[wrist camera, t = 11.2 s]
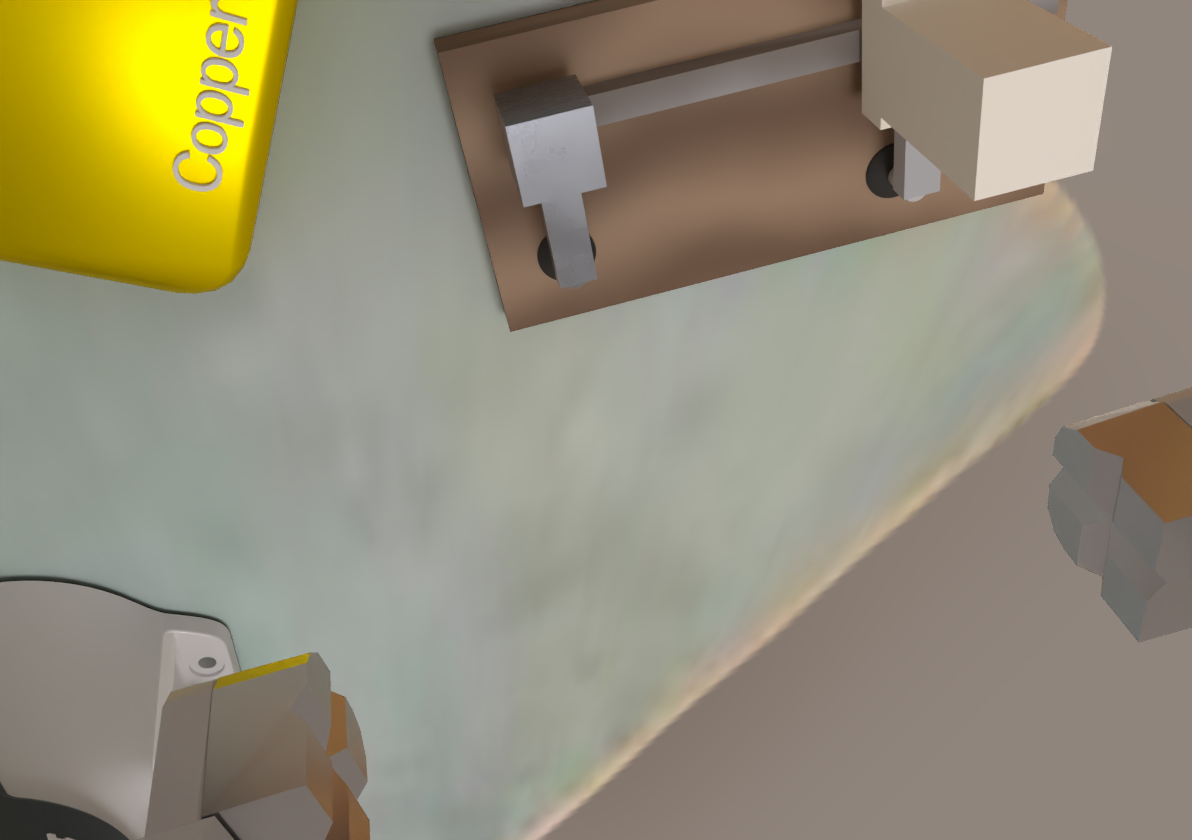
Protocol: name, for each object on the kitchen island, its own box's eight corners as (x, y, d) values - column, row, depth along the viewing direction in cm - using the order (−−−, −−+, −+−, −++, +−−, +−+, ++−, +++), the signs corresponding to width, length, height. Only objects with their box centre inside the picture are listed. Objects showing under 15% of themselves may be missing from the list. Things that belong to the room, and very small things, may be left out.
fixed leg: (606, 260, 42) (626, 304, 40) (535, 278, 42) (550, 324, 40) (572, 69, 37) (592, 105, 35) (491, 89, 37) (505, 126, 34)
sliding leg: (945, 173, 43) (1074, 288, 36) (853, 197, 43) (965, 318, 36) (958, -53, 38) (1114, 29, 30) (853, -28, 37) (985, 62, 30)
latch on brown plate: (1025, 179, 47) (1055, 203, 45) (505, 313, 45) (514, 344, 43) (1057, -110, 39) (1095, -95, 37) (433, 39, 38) (440, 62, 36)
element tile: (245, 252, 42) (238, 314, 38) (-209, 160, 36) (-268, 223, 32) (321, -153, 34) (322, -124, 30) (-243, -349, 28) (-326, -342, 25)
